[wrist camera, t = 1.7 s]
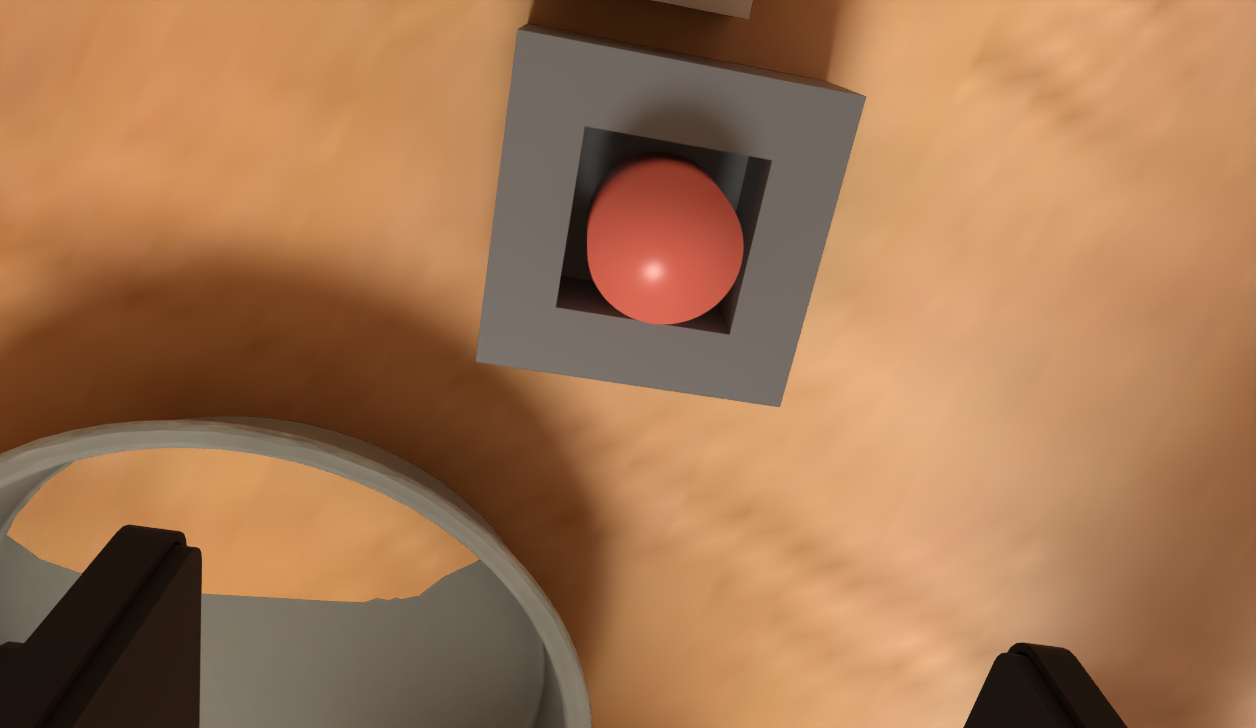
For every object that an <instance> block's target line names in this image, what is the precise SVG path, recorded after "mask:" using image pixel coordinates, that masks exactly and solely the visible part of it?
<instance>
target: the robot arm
mask: <svg viewBox="0 0 1256 728" xmlns="http://www.w3.org/2000/svg"><path fill="white" fill-rule="evenodd" d="M201 586H202V555H201V551H200V549H199V548H197V547H189V546H187V545H186V538H185V535H184V533H182V532H180V531H173V530H165V529H158V528H150V527H143V526H135V525H126V526H123V527H122V528H121V529H120V530H119V531H118V532H117V533H116V534H115V535H114V536H113V537H112V539H111V540H110V541H109V542H108V543H107V545H106V546H105V547H104V548H103V549H102V551H101V552H100V553H99V554H98V555H97V557H96V558H95V559H94V560H93V561H92V563H91V564H90V565H89V566H88V567H87V569H86V570H85V571H84V572H83V573H82V575H81V576H80V577H79V578H78V579H77V581H76V582H75V583H74V584H73V585H72V586H71V588H70V589H69V590H68V591H67V592H66V594H65V595H64V596H63V597H62V598H61V600H60V601H59V602H58V603H57V604H56V606H55V607H54V608H53V609H52V610H51V612H50V613H49V614H48V615H47V616H46V618H45V619H44V620H43V621H42V622H41V624H40V625H39V626H38V627H37V628H36V630H35V631H34V632H33V633H32V634H31V635H30V637H29V638H28V639H27V640H26V641H25V643H20V642H11V641H8V642H6V643H4V644H2V645H0V728H200V659H201ZM964 728H1127V726H1126V725H1125V724H1124V722H1123V721H1122V720H1121V718H1120V717H1119V715H1118V714H1117V713H1116V711H1115V710H1114V709H1113V707H1112V706H1111V704H1110V703H1109V702H1108V700H1107V699H1106V698H1105V696H1104V695H1103V694H1102V692H1101V691H1100V689H1099V688H1098V687H1097V685H1096V684H1095V683H1094V681H1093V680H1092V679H1091V677H1090V676H1089V674H1088V673H1087V672H1086V670H1085V669H1084V668H1083V666H1082V665H1081V664H1080V662H1079V661H1078V659H1077V658H1076V657H1075V656H1074V655H1073V654H1072V653H1071V652H1070V651H1069V650H1067V649H1064V648H1060V647H1053V646H1045V645H1037V644H1030V643H1016V644H1015V645H1013V646H1012V647H1011V648H1010V649H1009V651H1008V652H1007V653H1001V654H1000V655H999V656H997V658H996V660H995V661H994V663H993V665H992V667H991V670H990V672H989V674H988V676H987V678H986V680H985V682H984V685H983V687H982V689H981V691H980V693H979V695H978V698H977V700H976V702H975V704H974V706H973V708H972V710H971V713H970V715H969V717H968V719H967V721H966V723H965V726H964Z"/></svg>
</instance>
